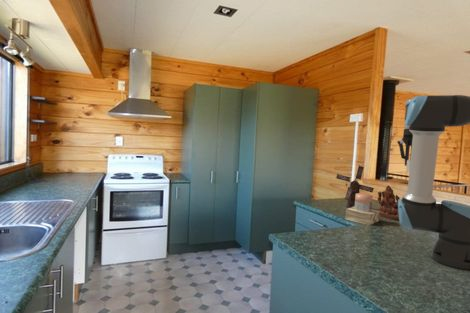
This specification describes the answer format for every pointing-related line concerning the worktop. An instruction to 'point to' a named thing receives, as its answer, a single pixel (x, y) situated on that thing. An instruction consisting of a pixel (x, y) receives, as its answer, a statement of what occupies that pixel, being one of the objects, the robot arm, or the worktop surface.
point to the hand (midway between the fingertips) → (408, 171)
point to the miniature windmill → (354, 187)
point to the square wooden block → (362, 216)
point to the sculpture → (388, 204)
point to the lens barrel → (363, 206)
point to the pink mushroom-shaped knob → (363, 198)
